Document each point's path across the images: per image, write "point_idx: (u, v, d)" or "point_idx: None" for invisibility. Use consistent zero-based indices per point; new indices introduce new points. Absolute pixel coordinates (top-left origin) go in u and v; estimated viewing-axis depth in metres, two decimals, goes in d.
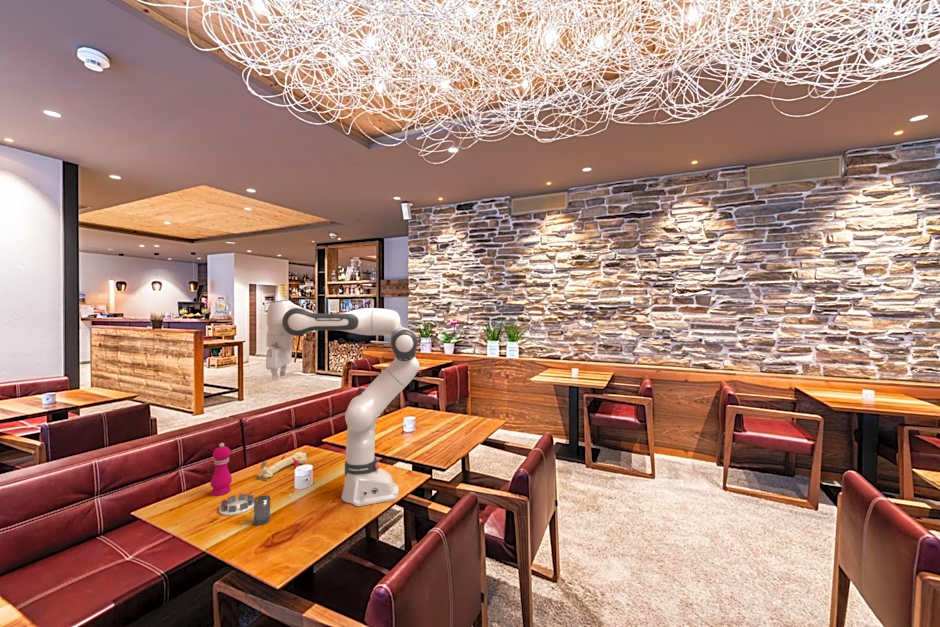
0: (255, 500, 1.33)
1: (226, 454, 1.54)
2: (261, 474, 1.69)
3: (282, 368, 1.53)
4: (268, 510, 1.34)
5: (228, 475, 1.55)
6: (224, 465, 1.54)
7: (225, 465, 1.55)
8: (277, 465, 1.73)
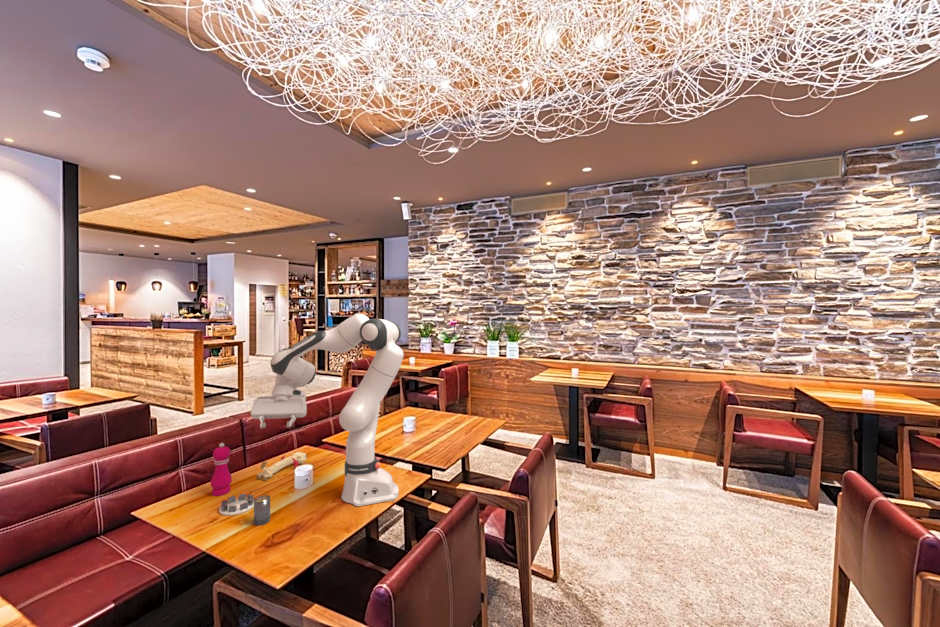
0: (255, 500, 1.33)
1: (226, 454, 1.54)
2: (261, 474, 1.68)
3: None
4: (268, 510, 1.34)
5: (228, 475, 1.55)
6: (224, 465, 1.54)
7: (225, 465, 1.55)
8: (277, 465, 1.73)
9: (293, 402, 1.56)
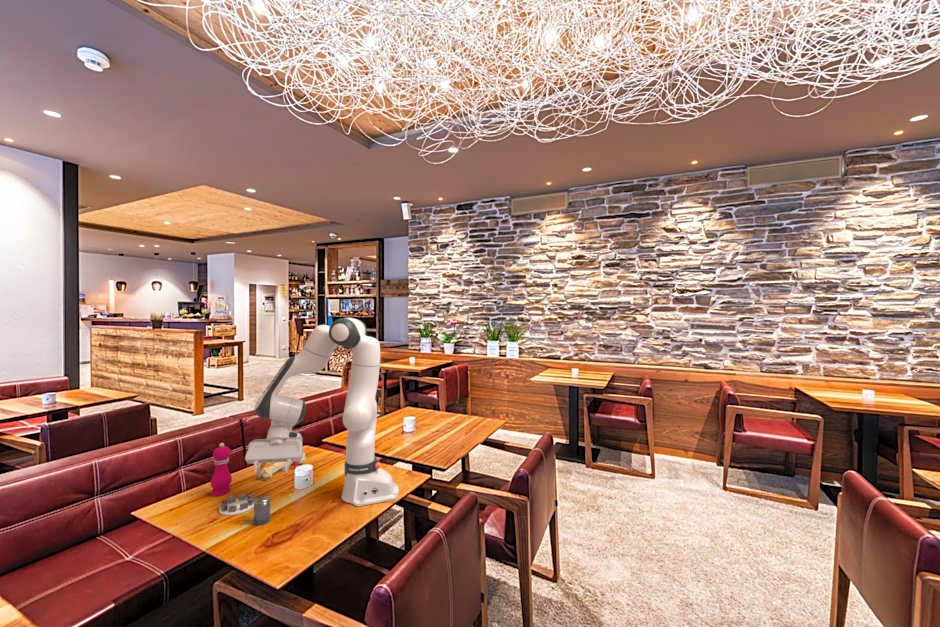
0: (255, 500, 1.33)
1: (226, 454, 1.54)
2: (260, 474, 1.68)
3: None
4: (268, 510, 1.34)
5: (228, 475, 1.55)
6: (224, 465, 1.54)
7: (225, 465, 1.55)
8: (276, 465, 1.73)
9: (289, 445, 1.51)
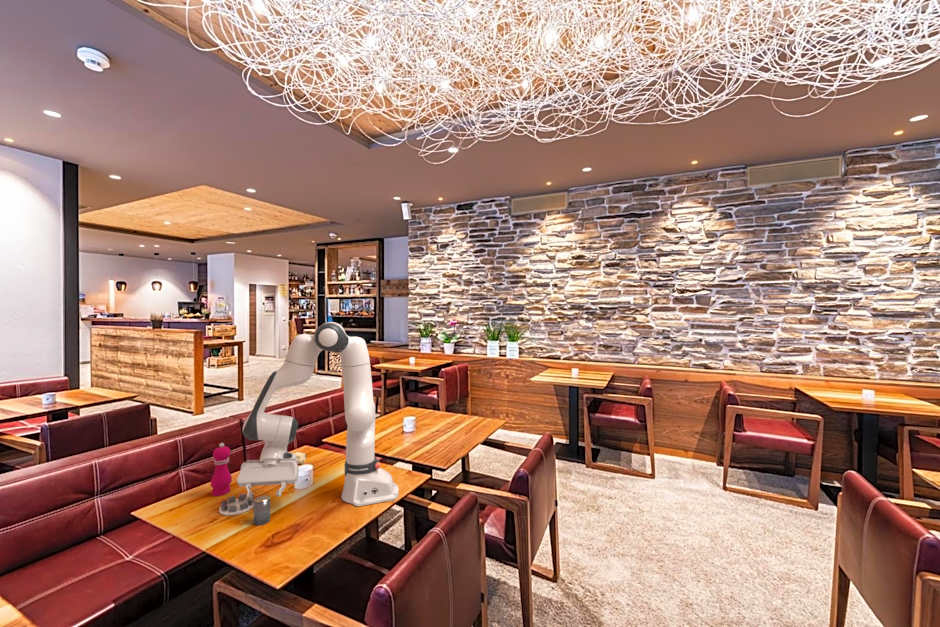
0: (255, 500, 1.33)
1: (226, 454, 1.54)
2: None
3: None
4: (268, 510, 1.34)
5: (228, 475, 1.55)
6: (224, 465, 1.54)
7: (225, 465, 1.55)
8: None
9: (283, 467, 1.43)
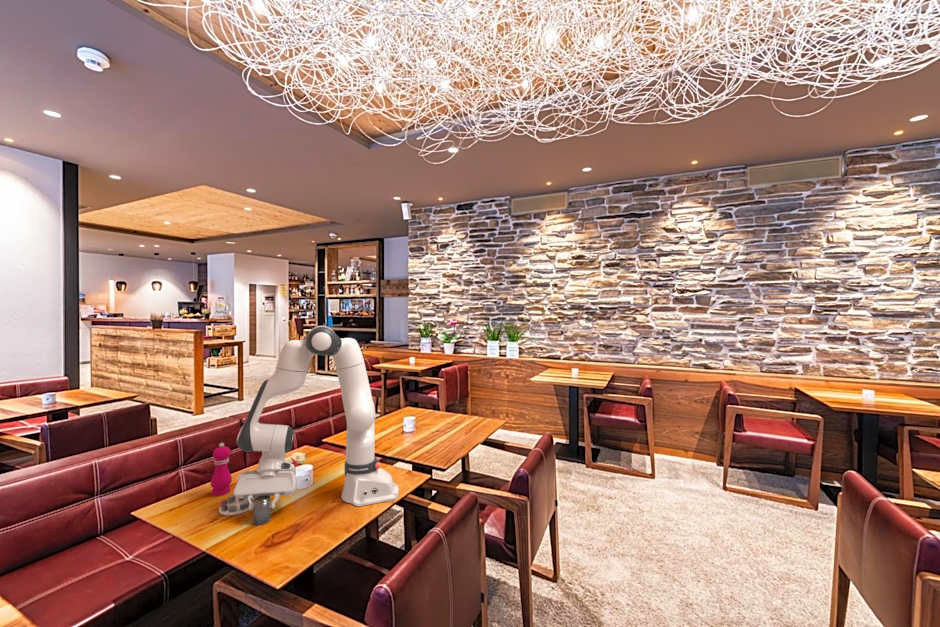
0: (255, 500, 1.33)
1: (226, 454, 1.54)
2: None
3: None
4: (268, 510, 1.34)
5: (228, 475, 1.55)
6: (224, 465, 1.54)
7: (225, 465, 1.55)
8: None
9: (281, 477, 1.40)
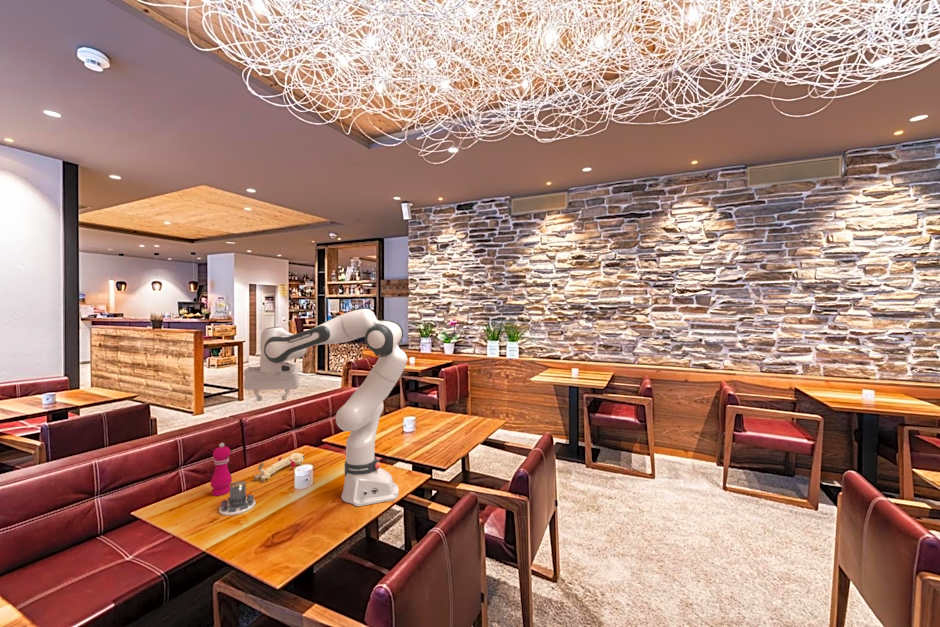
0: (231, 485, 1.42)
1: (226, 454, 1.54)
2: (258, 476, 1.67)
3: (286, 392, 1.58)
4: (243, 494, 1.43)
5: (228, 475, 1.55)
6: (224, 465, 1.54)
7: (225, 465, 1.55)
8: (274, 466, 1.72)
9: (284, 376, 1.56)
